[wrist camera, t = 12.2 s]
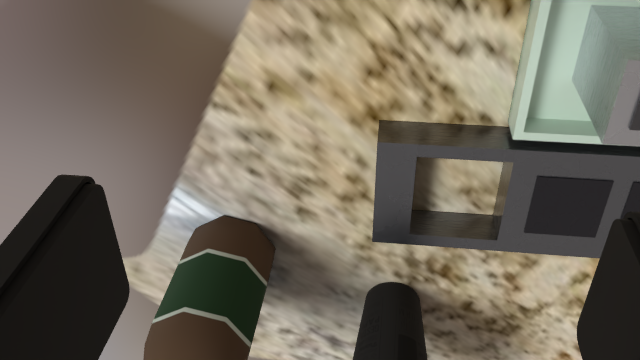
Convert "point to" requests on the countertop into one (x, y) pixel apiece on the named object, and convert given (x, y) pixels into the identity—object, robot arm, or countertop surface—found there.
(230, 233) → the beer bottle
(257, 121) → the countertop surface
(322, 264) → the countertop surface
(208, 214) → the countertop surface
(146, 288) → the countertop surface
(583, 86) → the block
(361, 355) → the drinking cup
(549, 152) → the grey slotted block
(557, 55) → the parts tray
